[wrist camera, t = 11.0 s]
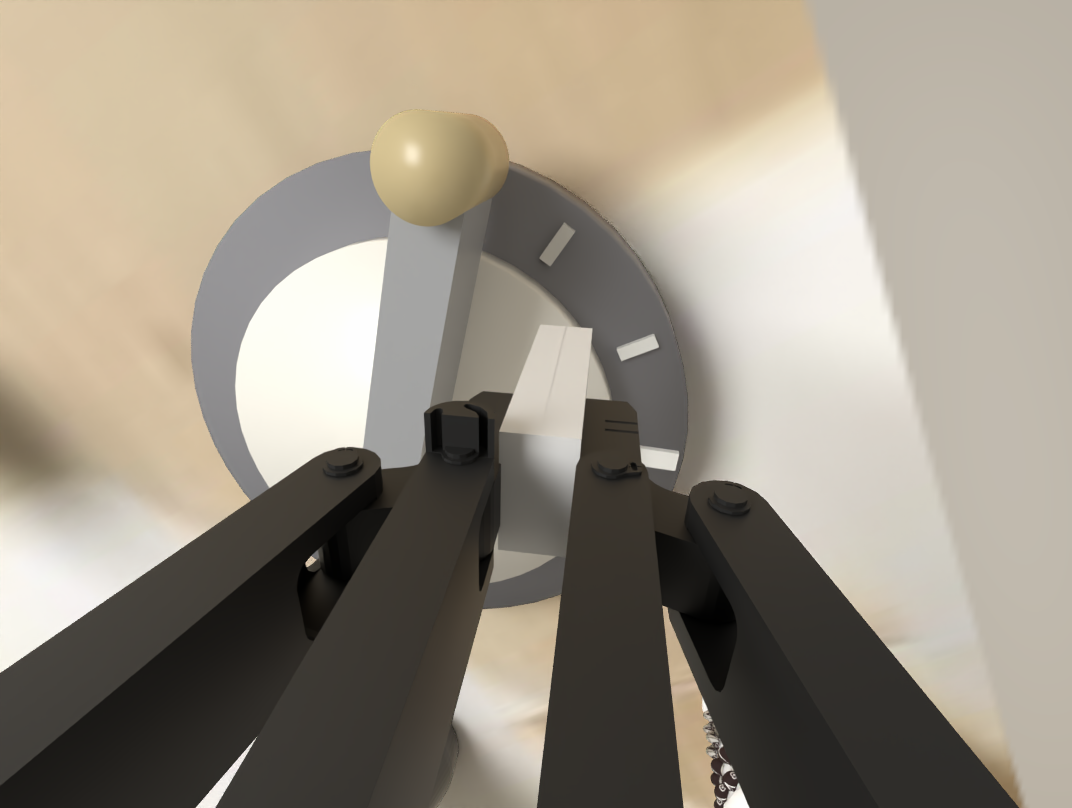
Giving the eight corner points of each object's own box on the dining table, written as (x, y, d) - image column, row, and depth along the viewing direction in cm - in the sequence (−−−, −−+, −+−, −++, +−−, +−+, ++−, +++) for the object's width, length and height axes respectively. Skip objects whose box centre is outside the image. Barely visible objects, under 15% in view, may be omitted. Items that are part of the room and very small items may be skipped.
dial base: (637, 603, 36) (638, 645, 34) (260, 540, 39) (230, 574, 36) (736, 177, 25) (752, 183, 22) (186, 119, 27) (133, 119, 24)
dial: (558, 604, 33) (543, 716, 27) (251, 514, 33) (165, 605, 27) (716, 181, 22) (754, 202, 16) (255, 51, 22) (110, 21, 16)
